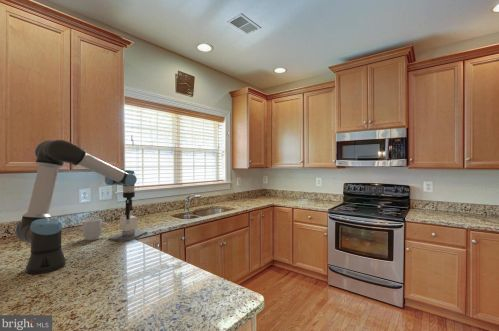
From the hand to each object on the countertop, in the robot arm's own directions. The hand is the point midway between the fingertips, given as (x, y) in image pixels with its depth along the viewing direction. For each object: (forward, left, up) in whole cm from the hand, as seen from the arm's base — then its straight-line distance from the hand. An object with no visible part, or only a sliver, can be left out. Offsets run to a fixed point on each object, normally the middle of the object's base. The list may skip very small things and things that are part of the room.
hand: (129, 221), depth 174 cm
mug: (-10, +19, -11) cm, 24 cm away
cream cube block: (0, 0, -5) cm, 5 cm away
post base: (0, 0, -10) cm, 10 cm away
